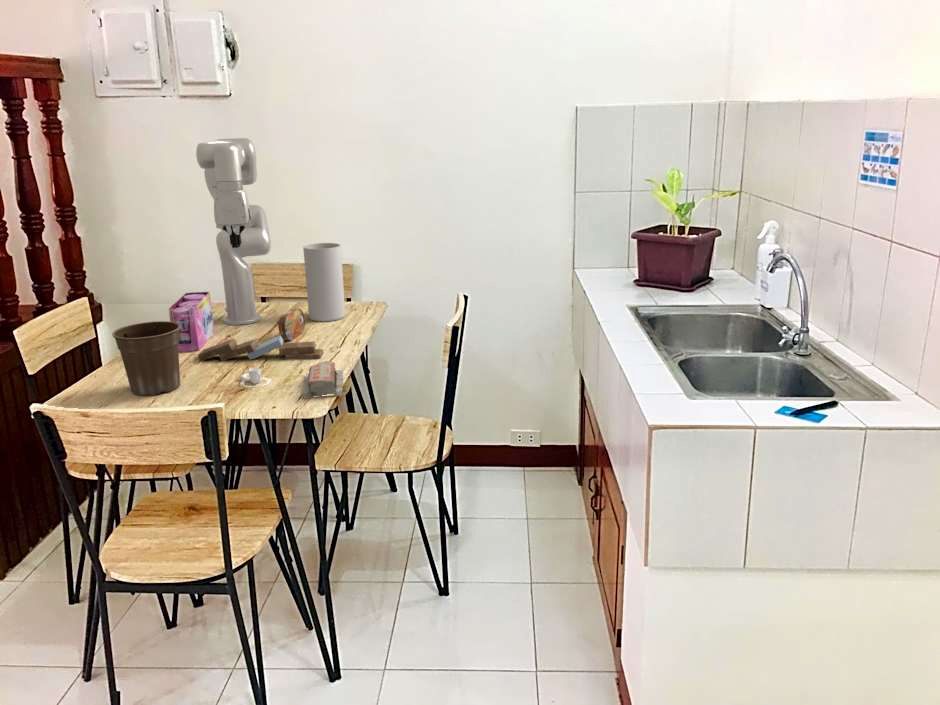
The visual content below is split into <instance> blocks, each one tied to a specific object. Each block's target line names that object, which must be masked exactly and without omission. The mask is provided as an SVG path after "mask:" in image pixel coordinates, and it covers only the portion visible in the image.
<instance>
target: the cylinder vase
mask: <svg viewBox="0 0 940 705" xmlns="http://www.w3.org/2000/svg"><path fill="white" fill-rule="evenodd" d="M302 249H303V258H304V260H303V261H304V274H305V284H306V294H307V295H306V296H307V297H306V299H307V310H308V318H309V319H310V321H311V320H312V321H316V322H333V321H339V320H341V319H343V318H345V316H346V303H345V291H344V290H345V289H344V288H345V287H344V277H343V276H344V273H343V272H344V271H343V262H342V261H343V260H342V245H341V244H339V243H336V242H319V243H310V244H306V245H304V246H303V248H302Z"/></svg>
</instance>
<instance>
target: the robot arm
mask: <svg viewBox="0 0 940 705" xmlns="http://www.w3.org/2000/svg"><path fill="white" fill-rule="evenodd" d="M256 153H257V152H256V147H255V145H254V144H253V142H252V140H251V139H250V138H246V137H238V138H237V137H234V138H219V139H216V140H212V141H207V142H201V143H200V142H199V143H197V146H196V152H195V155H196V156H195V157H196V161H197V162H196V163H197V164H198V166H199V167H200V168H201V169H204V173H203V174H204V181H205V183H206V188H207V190H208V191H209V193H210V196H211V197H212V199H213V216H214V222H215V223H214V224H216V225H215V227H216V228H217V229H220V231H219V232H218V233H217V234H216V237H215V242H216V247H217V252H218V255H219V259H220V263H221V264H220V265H221V272H222V279H223V288H224V297H225V305H226V308H224V311H225V312H226V314H227V315H226V316H224V317H223V319H222V320H223V323H224V324H225V325H230V326H231V325H232V326H233V325H234V326H239V325H240V326H241V325H249V324H254V323H257V322H260V321H261V319H262V315H261V314H259V313H257V310H256V309H257V308H256V301H255V292H254V291H255V290H254V280H253V273H252V268H251V266H250V265H249V264H248V263H247V262H246V261H245V260H244V259H243V258H246V257H259V256H266V255H268V254H269V252H270V251H271V248H272V243H271V236H270V230H269V225H268V220H267V215H266V212H265V210H264V208H263V206H260V205H258V204H249V198H248V196H247V192H246V190H244V186H250V185H253V184H254V183H256V181H257V178H258V171H257V168H258V167H257V154H256Z"/></svg>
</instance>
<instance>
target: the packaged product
mask: <svg viewBox="0 0 940 705" xmlns="http://www.w3.org/2000/svg"><path fill="white" fill-rule="evenodd" d="M343 386H344V370H343V369H338V370H336V364H335V362H334V361H329V360H327V361H322V362H318V363H315V364H313V365H311V366H309V370H308V373H306V375H305V379H304V384H303V390H302V395H301V396H302V398H303V397H314V396H322V395H327V394H334V395H337V396H336V397H341V396H342V395H343ZM314 398H315V397H314Z"/></svg>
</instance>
